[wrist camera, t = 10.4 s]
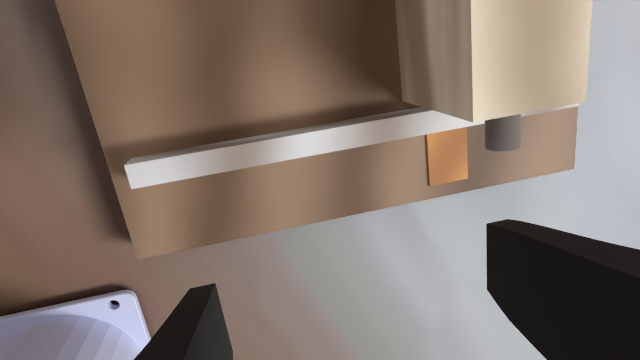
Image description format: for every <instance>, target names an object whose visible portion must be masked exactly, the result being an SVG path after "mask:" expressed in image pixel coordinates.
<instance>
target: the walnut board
mask: <svg viewBox="0 0 640 360" xmlns="http://www.w3.org/2000/svg"><path fill="white" fill-rule="evenodd" d="M55 3H56V6H57V10H58V13H59V16H60V19H61V22H62V25H63V28H64V31H65V35H66V38H67V41H68V44H69V47H70V50H71V53H72V56H73V59H74V63H75V66H76V69H77V72H78V75H79V78H80V81H81V84H82V88H83V91H84V94H85V97H86V100H87V103H88V106H89V109H90V113H91V116H92V119H93V122H94V125H95V128H96V131H97V134H98V138H99V141H100V144H101V147H102V150H103V153H104V156H105V159H106V162H107V166H108V169H109V172H110V175H111V178H112V181H113V184H114V187H115V191H116V194H117V197H118V200H119V203H120V206H121V209H122V212H123V216H124V219H125V222H126V225H127V228H128V231H129V234H130V237H131V240H132V244H133V247H134V250H135V253H136V256H137V259H143V258H148V257H153V256H158V255H162V254H167V253H172V252H177V251H182V250H186V249H191V248H196V247H201V246H206V245H210V244H215V243H220V242H225V241H230V240H234V239H239V238H244V237H249V236H254V235H258V234H263V233H268V232H273V231H278V230H282V229H287V228H292V227H297V226H302V225H306V224H311V223H316V222H321V221H326V220H330V219H335V218H340V217H345V216H350V215H354V214H359V213H364V212H369V211H374V210H378V209H383V208H388V207H393V206H398V205H402V204H407V203H412V202H417V201H422V200H426V199H431V198H436V197H441V196H446V195H450V194H455V193H460V192H465V191H470V190H474V189H479V188H484V187H489V186H494V185H498V184H503V183H508V182H513V181H518V180H522V179H527V178H532V177H537V176H542V175H546V174H551V173H556V172H561V171H566V170H570V169H574V162H575V146H576V130H577V114H578V106H579V103H577V104H571V105H566V106H561V107H555V108H550V109H544V110H539V111H534V112H528V113H523V114H521V147H520V148H519V149H516V150H512V151H490V150H487V149H486V148H485V121H479V122H474V123H473V122H469V121H466V120H463V119H460V118H456V117H453V116H450V115H447V114H443V113H440V112H437V111H434V110H430V109H427V108H424V107H421V106H417V105H414V104H411V103H408V102H404V101H402V88H401V75H400V62H399V48H398V35H397V21H396V8H395V0H55Z"/></svg>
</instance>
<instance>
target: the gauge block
mask: <svg viewBox="0 0 640 360" xmlns="http://www.w3.org/2000/svg"><path fill="white" fill-rule="evenodd" d="M592 2H593V0H395V8H396V21H397V35H398V48H399V62H400V75H401V88H402V101H404V102H408V103H411V104H414V105H417V106H421V107H424V108H427V109H430V110H434V111H437V112H440V113H443V114H447V115H450V116H453V117H456V118H460V119H463V120H466V121H469V122H473V123H474V122H479V121H485V148H486V149H487V150H490V151H512V150H516V149H519V148H520V147H521V114H523V113H528V112H534V111H539V110H544V109H550V108H555V107H561V106H566V105H571V104H577V103H582V102H586V90H587V76H588V61H589V46H590V32H591V17H592Z"/></svg>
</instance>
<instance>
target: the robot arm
mask: <svg viewBox="0 0 640 360" xmlns="http://www.w3.org/2000/svg"><path fill="white" fill-rule="evenodd" d="M487 290H488V291H489V293H490V294H491V296H492V297H493V299H494V300H495V301H496V303H497V304H498V306H499V307H500V308H501V310H502V311H503V312H504V314H505V315H506V316H507V318H508V319H509V320H510V321H511V322H512V324H513V325H514V326H515V327H516V328H517V329H518V330H519V331H520V332H521V333H522V334H523V335H524V336H525V337H526V338H527V339H528V341H529V342H530V343H531V344H532V345H533V346H534V347H535V348H536V349H537V350H538V351H539V352H540V353H541V354H542V355H543V356H544V357H545V358H546V359H547V360H640V250H638V249H634V248H629V247H625V246H620V245H616V244H611V243H607V242H603V241H599V240H595V239H591V238H587V237H583V236H579V235H575V234H571V233H567V232H563V231H559V230H555V229H552V228H548V227H544V226H540V225H535V224H531V223H527V222H522V221H516V220H509V219H507V220H502V221H498V222H493V223H488V224H487ZM112 300H116V301H118V302H119V305H114V304H112V303H111V302H110V301H112ZM0 360H233V350H232V347H231V343H230V339H229V335H228V331H227V327H226V323H225V319H224V316H223V312H222V308H221V304H220V300H219V296H218V292H217V288H216V284H215V283H214V284H210V285H205V286H200V287H196V288H191V289H189V291H188V292H187V293H186V294H185V296H184V297H183V298H182V300H181V301H180V302H179V304H178V305H177V306H176V308H175V309H174V310H173V312H172V313H171V314H170V316H169V317H168V318H167V320H166V321H165V322H164V323H163V325H162V326H161V327H160V329H159V330H158V331H157V332H156V334H155V335H154V336H153V337H152V339H151V338H150V335H149V332H148V329H147V326H146V323H145V320H144V317H143V314H142V311H141V308H140V304H139V301H138V298H137V296H136V294H135V293H134V292H133V291H130V290H121V291H116V292H111V293H107V294H102V295H98V296H93V297H88V298H84V299H79V300H75V301H70V302H65V303H61V304H56V305H51V306H47V307H42V308H38V309H33V310H28V311H24V312H19V313H15V314H10V315H5V316H1V317H0Z"/></svg>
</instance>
